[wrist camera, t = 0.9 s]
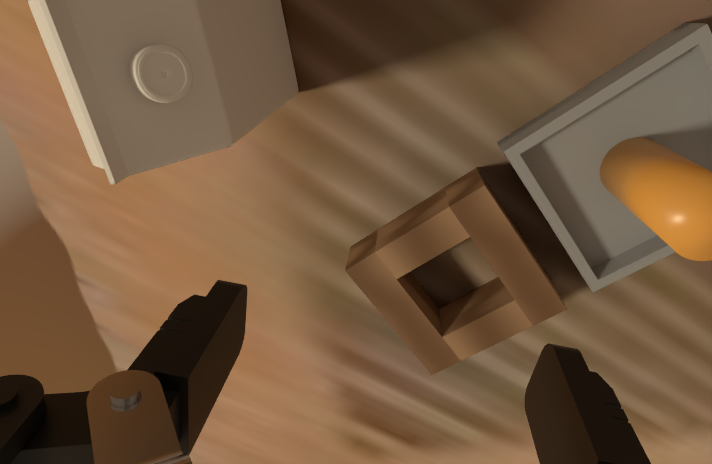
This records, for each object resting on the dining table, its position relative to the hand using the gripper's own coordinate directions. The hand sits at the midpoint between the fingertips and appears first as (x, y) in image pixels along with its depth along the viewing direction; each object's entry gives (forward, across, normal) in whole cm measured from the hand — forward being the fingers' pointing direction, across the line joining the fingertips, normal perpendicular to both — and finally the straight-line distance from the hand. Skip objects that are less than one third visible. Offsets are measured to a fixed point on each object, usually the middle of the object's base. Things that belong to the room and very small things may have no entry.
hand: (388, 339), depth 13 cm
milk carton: (+25, +12, -3) cm, 28 cm away
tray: (+25, -17, 0) cm, 30 cm away
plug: (+24, -17, 0) cm, 30 cm away
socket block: (+25, -6, +11) cm, 28 cm away
